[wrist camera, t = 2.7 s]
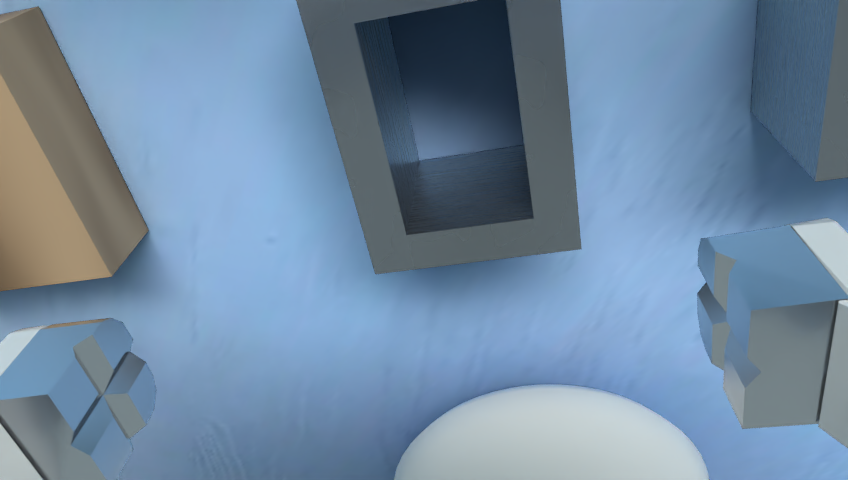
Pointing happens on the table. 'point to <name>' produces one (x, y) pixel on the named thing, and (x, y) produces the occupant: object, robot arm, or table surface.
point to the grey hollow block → (804, 81)
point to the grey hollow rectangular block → (454, 175)
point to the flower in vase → (551, 439)
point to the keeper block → (54, 169)
